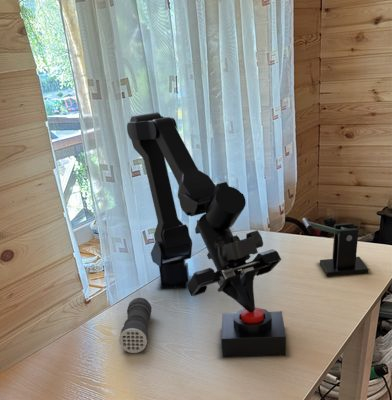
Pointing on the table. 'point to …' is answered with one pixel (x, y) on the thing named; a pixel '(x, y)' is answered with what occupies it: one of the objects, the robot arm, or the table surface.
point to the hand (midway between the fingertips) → (252, 311)
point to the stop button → (252, 315)
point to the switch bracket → (344, 254)
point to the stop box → (253, 335)
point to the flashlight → (136, 326)
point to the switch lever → (320, 226)
